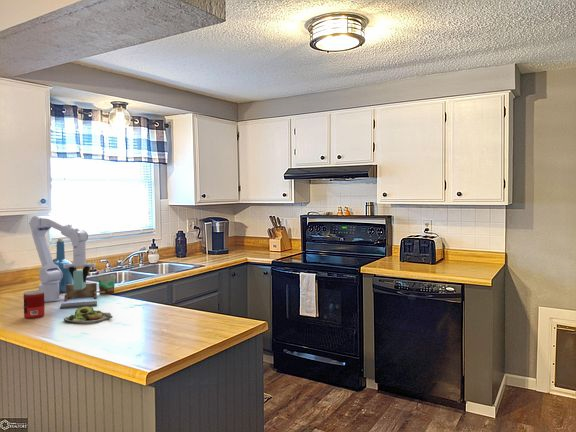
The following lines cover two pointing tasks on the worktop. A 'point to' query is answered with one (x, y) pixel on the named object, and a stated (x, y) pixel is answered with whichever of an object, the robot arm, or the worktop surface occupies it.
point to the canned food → (34, 304)
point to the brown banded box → (81, 291)
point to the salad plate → (87, 316)
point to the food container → (107, 284)
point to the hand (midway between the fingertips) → (79, 281)
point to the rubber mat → (78, 304)
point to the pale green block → (78, 280)
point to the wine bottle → (62, 266)
